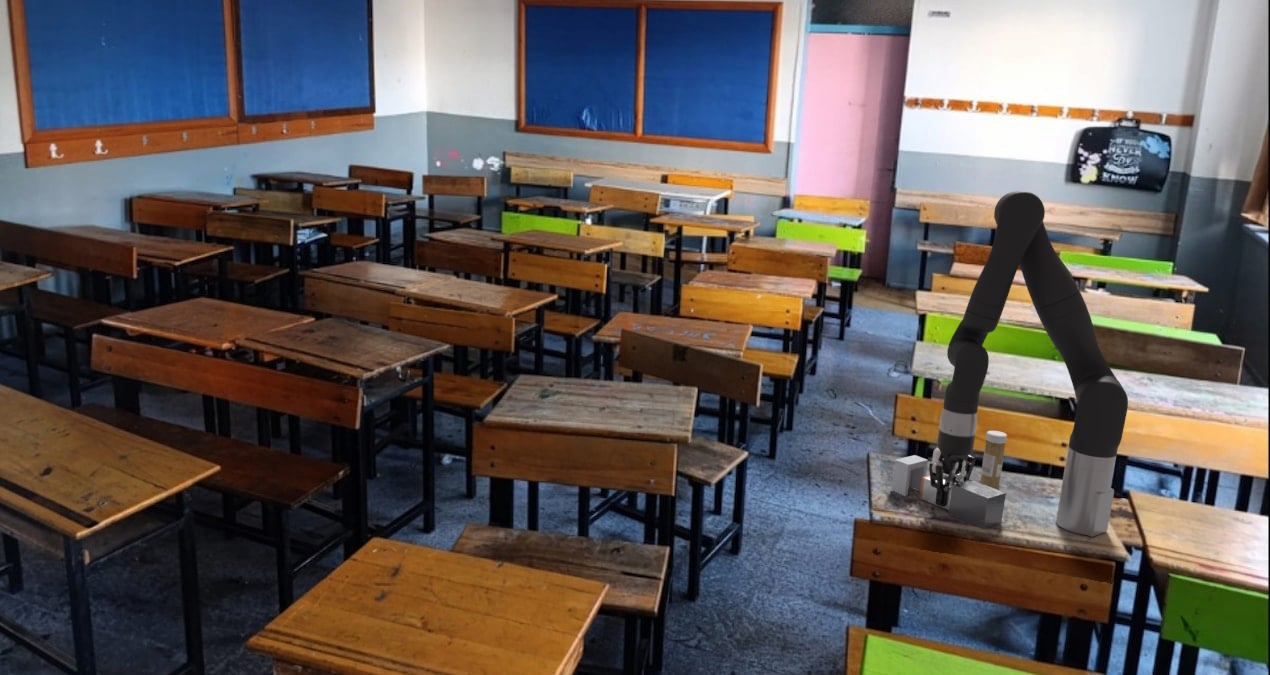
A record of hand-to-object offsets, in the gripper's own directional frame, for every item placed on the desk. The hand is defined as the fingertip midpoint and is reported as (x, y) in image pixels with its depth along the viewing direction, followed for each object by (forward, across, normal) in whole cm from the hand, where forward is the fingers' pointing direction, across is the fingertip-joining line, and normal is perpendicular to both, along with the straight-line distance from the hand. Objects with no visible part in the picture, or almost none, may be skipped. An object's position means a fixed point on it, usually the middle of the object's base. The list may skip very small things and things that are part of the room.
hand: (947, 503), depth 211 cm
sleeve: (+1, 0, -7) cm, 7 cm away
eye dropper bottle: (+1, +13, +11) cm, 17 cm away
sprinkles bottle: (+1, +20, +3) cm, 20 cm away
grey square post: (+1, 0, -2) cm, 2 cm away
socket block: (+1, 0, +11) cm, 11 cm away
